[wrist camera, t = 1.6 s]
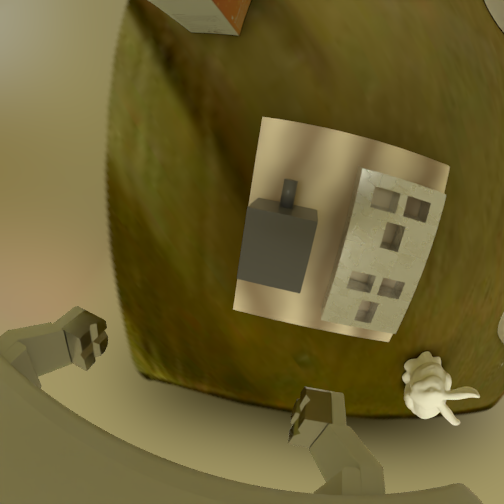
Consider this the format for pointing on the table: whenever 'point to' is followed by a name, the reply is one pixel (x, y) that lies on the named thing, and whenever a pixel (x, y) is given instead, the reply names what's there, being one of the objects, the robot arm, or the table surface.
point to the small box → (207, 14)
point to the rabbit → (431, 388)
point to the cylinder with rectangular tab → (501, 328)
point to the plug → (277, 241)
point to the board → (326, 209)
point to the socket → (381, 253)
